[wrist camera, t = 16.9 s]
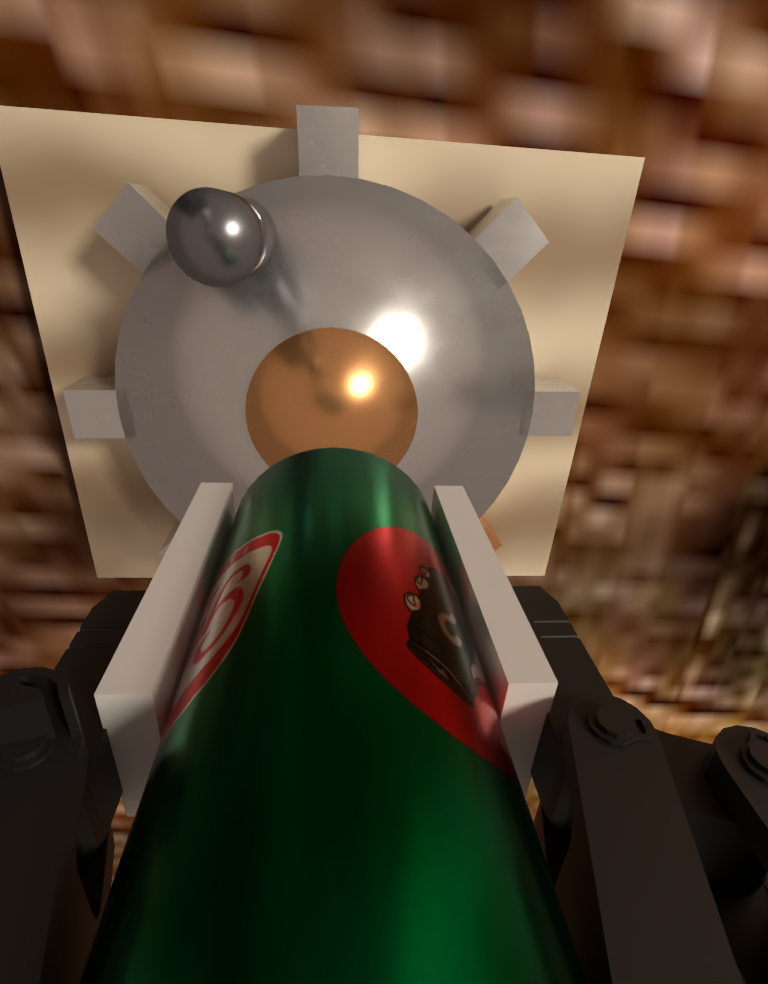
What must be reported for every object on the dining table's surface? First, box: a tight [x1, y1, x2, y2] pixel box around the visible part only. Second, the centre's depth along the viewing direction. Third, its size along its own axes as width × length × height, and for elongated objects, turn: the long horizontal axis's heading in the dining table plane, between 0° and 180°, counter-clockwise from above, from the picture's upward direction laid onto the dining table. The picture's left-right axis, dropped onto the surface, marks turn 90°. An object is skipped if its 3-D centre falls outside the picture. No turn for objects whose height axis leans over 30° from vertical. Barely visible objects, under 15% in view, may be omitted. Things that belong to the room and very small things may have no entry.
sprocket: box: [63, 105, 580, 557], centre depth 20 cm, size 21×21×7 cm
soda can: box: [79, 447, 587, 984], centre depth 9 cm, size 5×5×12 cm
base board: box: [0, 106, 645, 578], centre depth 24 cm, size 20×24×1 cm
